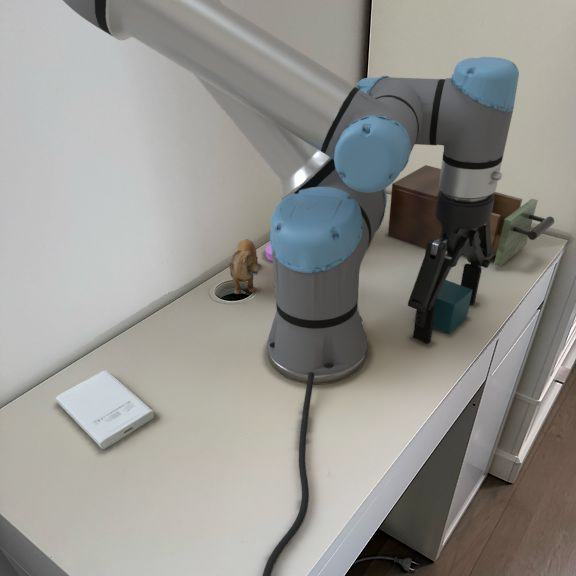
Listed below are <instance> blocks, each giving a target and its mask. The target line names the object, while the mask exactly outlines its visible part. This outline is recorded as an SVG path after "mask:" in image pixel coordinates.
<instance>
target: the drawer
mask: <svg viewBox="0 0 576 576" xmlns="http://www.w3.org/2000/svg"><path fill="white" fill-rule="evenodd" d="M493 194H494V195H495V199H494V204H493V209H492V214H491V219H490V233H491V248H492V254H491V256H490V258H485V260H491V259H493V257H495V259H494V263H493V265H494V266H496V267H499V268H500V267H502V266H503V265H504V264H505V263H506V262H508V261H509V260H510V259H511V258H512V257H513V256H515V255H516V254H517V253H518V252H519V251H521V250H522V249H523V248H524V247H525V246H526V245H527V242H528V239H529V240H531V241H534V240H536V239H538V238H539V237H540V236H541V235H542V234H544V233H545V232H546V231H547V230H548V229H549V228H550V227H552V226H553V225H554V224H555V219H554V217H552V216H546V218H545V217H541V216H537V215H535V213H536V208H537V205H538V201H539V200H538V199H535V198H530V199H529V200H528V201H526V202H525V203H524V204H522V203H523V198H521V197H516V196H512V195H508V194H506V193H505V194H504V193H501V192H498V191H495V192H494V193H493ZM533 221H536V222H539V223H538V224H537V225H535V226H534V227H533V228H532V229H531V227H532V224H533Z"/></svg>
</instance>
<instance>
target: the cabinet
mask: <svg viewBox="0 0 576 576" xmlns="http://www.w3.org/2000/svg"><path fill="white" fill-rule="evenodd" d="M440 172H441V168H439V167H435V166H431V165H427V164H425V165H423V166H421V167H419V168H418V169H416V170H414V171H413V172H410V173H409V174H407V175H405V176H404V177H402V178H400V179H398V180H396V181H394V182H393V183H392V184H391V195H390V206H389V207H390V208H389V219H388V229H387V230H388V231H387V235H388V236H389V237H393V238H395V239H398V240H401V241H404V242H407V243H410V244H413V245H416V246H418V247H421V248H424V249H426V247H427V242H428V240H429V239H430V238H431V239H434V240H438V239H439V237H440V234H441V231H442V228H443V227H442V225H441V223H440V222H439V221H438V220H437V219H436V216H435V210H436V203H437V195H438V192H439V191H440V189H439V187H438V186H439V179H440Z"/></svg>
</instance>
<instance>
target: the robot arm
mask: <svg viewBox="0 0 576 576" xmlns="http://www.w3.org/2000/svg"><path fill="white" fill-rule="evenodd" d="M62 1H63V2H64V3H65V4H66V5H67V6H68V7H69V8H70V9H71V10H72V11H73V12H75V13H76V14H77V15H78V16H79V17H81V18H83V19H84V20H86V21H87V22H88V23H89V24H92V25H93V26H95V27H96V28H97V29H100V30H101V31H103V32H104V33H106V34H108V35H109V36H111V37H113V38H115V39H116V40H118V41H126V40H128V39H130V38H134V39H135V40H136V41H139V42H140V43H142V44H143V45H145V46H147V47H148V48H150V49H152V50H153V51H155V52H156V53H158V54H160V55H161V56H163V57H165V58H167V59H168V60H169V61H171V62H173V63H174V64H176V65H177V66H179V67H180V68H183V69H184V70H186V71H188V72H189V73H191V74H193V76H194V77H195V78H196V80H198V82H199V83H200V84H201V85H202V87H203V88H204V89H205V90H206V92H207V93H208V94H209V95H210V97H211V98H212V99H213V100H214V102H215V103H216V104H217V105H218V107H219V108H220V109H221V110H222V111H223V112H224V114H225V115H226V116H227V117H228V118H229V120H230V121H231V122H232V123H233V125H234V126H235V127H236V129H237V130H238V131H239V132H240V134H242V136H243V137H244V139H246V141H247V142H248V143H249V144H250V146H251V147H252V148H253V149H254V150H255V152H256V153H257V154H258V156H259V157H260V158H261V160H263V161H264V163H265V164H266V165H267V167H268V168H269V169H270V170H271V172H272V173H273V174H274V175H275V176H276V178H277V179H278V180H279V181H280V199H281V200H280V201H279V202H278V204H277V205H276V206H275V208H274V210H273V212H272V213H271V214H272V215H271V218H270V231H269V232H270V234H269V244H270V245H271V249H272V259H273V261H272V271H273V281H274V294H275V306H276V307H275V308H276V311H275V315H274V318H273V321H272V324H271V327H270V330H269V334H268V337H267V342H266V343H267V345H266V349H267V358H268V361H269V363H270V365H271V366H272V368H273V369H274V370H275V371H276V372H277V373H278V374H280V375H281V376H283V377H284V378H287V379H289V380H292V381H294V382H298V383H303V384H306V387H305V393H304V401H303V407H302V414H301V423H300V431H299V443H298V472H299V478H300V479H299V480H300V487H301V500H300V507H299V511H298V514H297V516H296V518H295V520H294V521H293V523H292V525H291V526H290V528H289V529H288V531H287V532H286V533H285V534H284V536H283V537H282V538H281V539H280V541H279V542H278V543H277V544H276V546H275V547H274V549H273V550H272V551H271V554H270V555H269V557H268V558H267V561H266V563H265V566H264V569H263V572H262V576H272V572H273V569H274V567H275V565H276V563H277V561H278V558H279V557H280V555H281V553H282V552H283V550H284V549H285V548H286V547H287V545H289V543H290V542H291V541H292V539H293V537H295V535H296V534H297V532H298V531H299V529H300V528H301V526H302V525H303V523H304V520H305V518H306V515H307V513H308V507H309V501H310V500H309V499H310V494H309V493H310V489H309V482H308V480H309V479H308V475H307V467H306V448H307V447H306V446H307V433H308V424H309V414H310V413H309V412H310V406H311V399H312V393H313V386H314V385H323V384H331V383H336V382H339V381H342V380H346V379H347V378H349V377H351V376H353V375H354V374H356V373H357V372H358V371H359V370H361V368H362V367H363V366H364V364H365V363H366V361H367V358H368V354H369V353H368V352H369V341H368V340H369V339H368V335H367V333H366V331H365V328H364V324H363V318H362V316H361V315H360V312H359V309H358V308H359V307H358V306H359V304H358V301H359V285H360V271H361V270H360V269H361V265H362V262H363V260H364V258H365V255H366V253H367V251H368V249H369V247H370V245H371V243H372V241H373V240H374V237H375V235H376V233H377V231H378V230H379V229H380V228H381V225H382V223H383V221H384V218H385V213H386V208H387V202H388V200H387V199H388V194H387V189H386V188H388V187H389V186H391V185H392V184H393V183H394V182H395V180H396V179H397V178H398V177H399V175H400V174H401V172H403V171H404V170H405V168H406V167H407V166H408V163H409V161H410V160H409V159H410V156H411V154H412V151H413V149H414V146H416V145H420V146H421V145H422V146H443V152H442V158H441V159H442V160H441V166H440V169H441V172H440V179H439V186H438V187H439V189H440V191H439V192H438V195H437V203H436V210H435V216H436V219H437V220H438V221H439V222H440V223H441V225H442V227H443V228H442V231H441V234H440V237H439V239H438V240H434V239H431V238H430V239H429V240H428V242H427V247H426V248H425V252H424V253H425V254H424V256H423V259H422V262H421V265H420V268H419V271H418V274H417V276H416V279H415V282H414V285H413V288H412V290H411V293H410V297H409V299H408V302H407V306H408V307H409V308H411V309H415V317H414V325H413V333H412V338H413V339H415V340H417V341H420V342H422V343H424V344H427V345H429V344H430V343H431V341H432V335H433V329H434V328H433V323H434V316H435V309H436V306H433V304H434V302H435V300H436V298H437V296H438V294H439V292H440V290H441V288H442V286H443V284H444V282H445V280H447V277H448V276H449V273H450V271H451V270H452V268H455V267H456V266H457V264H458V262H459V260H460V258H461V256H462V255H463V254H464V256H465V259H466V260H467V262H468V263H465V264H464V265H463V270H462V275H461V281H460V285H461V286H464V287H466V288H469V289H472V295H471V299H470V304H469V305H474V304H475V303H476V300H477V295H478V291H479V290H478V289H479V285H480V280H481V275H482V271H483V268H485V269H488V268H489V266H490V263H491V261H490V260H489V259H486V258H490V256H491V254H492V248H491V233H490V219H491V214H492V209H493V204H494V199H495V195H494V194H493V193H494V192H497V188H498V182H499V181H500V180H502V178H503V173H502V172H501V168H502V163H503V159H504V153H505V150H506V144H507V140H508V136H509V131H510V127H511V122H512V117H513V113H514V110H515V109H514V108H515V102H516V97H517V95H516V94H517V89H518V82H519V77H520V76H519V75H520V72H519V68H518V66H517V64H516V63H514V61H511V60H509V59H506V58H503V57H493V56H480V57H470V58H465V59H462V60H460V61H458V62H457V63H456V65H455V67H454V70H453V74H452V75H451V77H445V78H417V77H416V78H415V77H392V76H389V75H382V76H380V77H365V78H362V79H360V80H359V81H358V82H357V84H356V85H354V84H352V83H351V82H350V81H347V80H346V79H344V78H343V77H341V76H339V75H338V74H336V73H335V72H333V71H331V70H329V69H328V68H327V67H325V66H324V65H322V64H320V63H318V62H317V61H316V60H314V59H312V58H310V57H309V56H307V55H306V54H305V53H302V52H301V51H300V50H298V49H296V48H294V47H293V46H291V45H290V44H288V43H287V42H285V41H283V40H281V39H280V38H278V37H277V36H275V35H273V34H272V33H270V32H269V31H267V30H266V29H264V28H263V27H260V25H257V24H256V23H254V22H252V21H251V20H249V18H246V17H245V16H243V15H242V14H240V13H238V12H237V11H234V10H233V9H232V8H230V7H229V6H227V5H225V4H224V3H222V1H221V0H62Z"/></svg>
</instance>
